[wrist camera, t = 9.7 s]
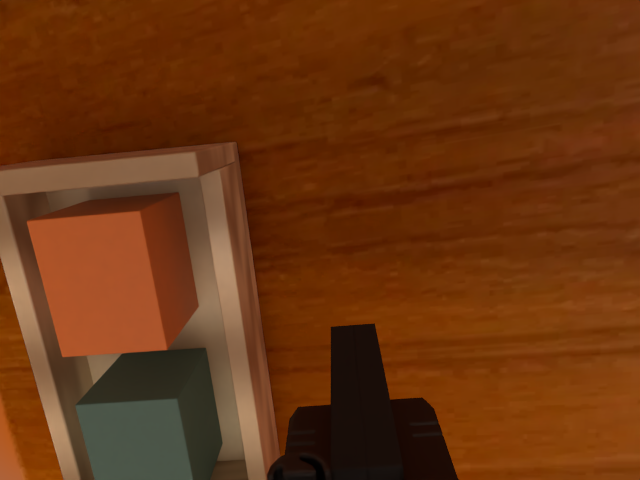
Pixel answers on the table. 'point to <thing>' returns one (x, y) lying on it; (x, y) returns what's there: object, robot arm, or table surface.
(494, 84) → the table surface
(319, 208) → the table surface
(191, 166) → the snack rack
